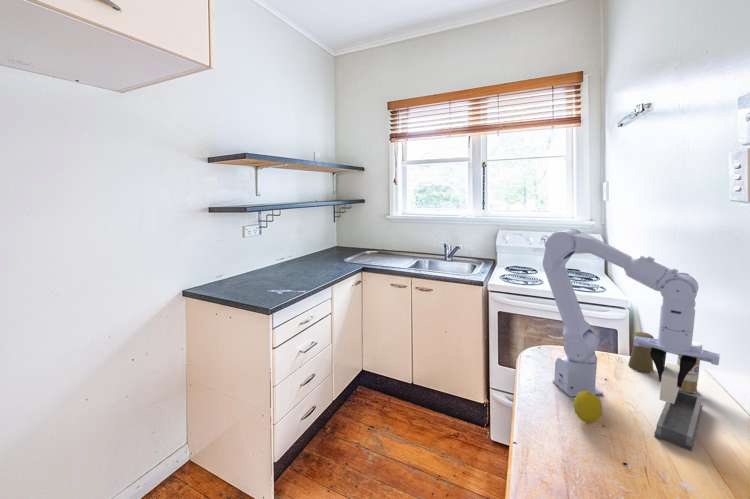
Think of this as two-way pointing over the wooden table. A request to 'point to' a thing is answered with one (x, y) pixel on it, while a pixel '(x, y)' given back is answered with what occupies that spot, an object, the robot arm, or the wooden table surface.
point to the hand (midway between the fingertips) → (670, 382)
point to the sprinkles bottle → (691, 374)
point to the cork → (641, 356)
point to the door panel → (669, 383)
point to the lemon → (588, 407)
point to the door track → (680, 420)
